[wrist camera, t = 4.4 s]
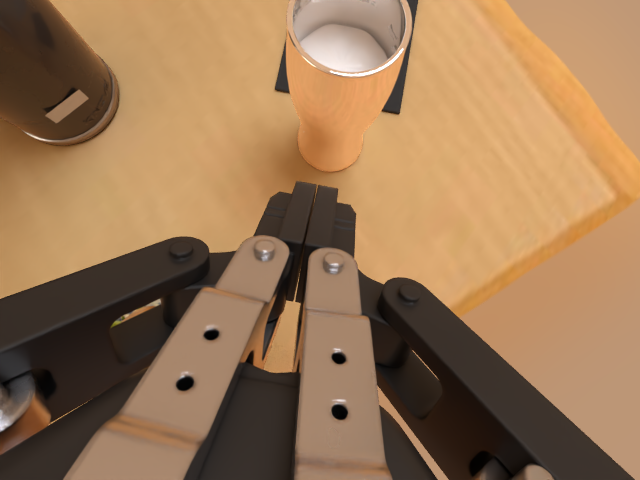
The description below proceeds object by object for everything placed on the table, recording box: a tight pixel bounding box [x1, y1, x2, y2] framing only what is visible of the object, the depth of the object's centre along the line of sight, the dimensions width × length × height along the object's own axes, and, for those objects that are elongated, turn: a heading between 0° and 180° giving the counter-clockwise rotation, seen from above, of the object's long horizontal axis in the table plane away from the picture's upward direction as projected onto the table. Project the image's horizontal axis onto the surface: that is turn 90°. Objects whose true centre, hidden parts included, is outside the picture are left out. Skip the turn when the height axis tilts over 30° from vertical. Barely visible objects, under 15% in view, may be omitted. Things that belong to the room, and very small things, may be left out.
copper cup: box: [286, 0, 412, 172], centre depth 26 cm, size 7×7×15 cm
